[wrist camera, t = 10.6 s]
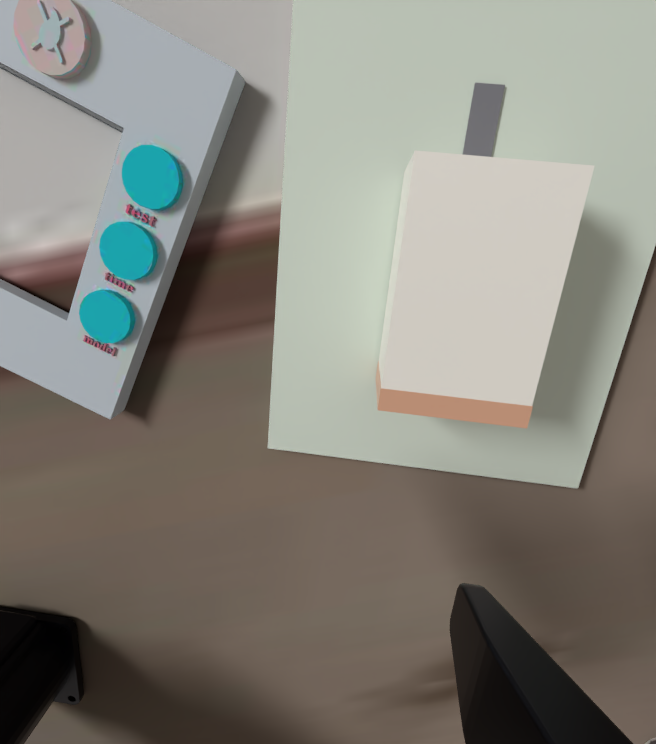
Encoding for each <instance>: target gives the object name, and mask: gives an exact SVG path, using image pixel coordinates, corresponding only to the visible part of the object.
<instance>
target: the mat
mask: <svg viewBox="0 0 656 744" xmlns="http://www.w3.org/2000/svg"><path fill="white" fill-rule="evenodd" d="M415 150H416V151H427V152H439V153H451V154H463V155H475V156H487V157H499V158H510V159H522V160H534V161H546V162H558V163H570V164H582V165H593V166H594V170H593V174H592V178H591V182H590V186H589V189H588V193H587V197H586V201H585V205H584V209H583V213H582V216H581V220H580V224H579V228H578V232H577V236H576V239H575V243H574V247H573V251H572V255H571V259H570V262H569V266H568V270H567V274H566V278H565V282H564V285H563V289H562V293H561V297H560V301H559V305H558V309H557V312H556V316H555V320H554V324H553V328H552V332H551V335H550V339H549V343H548V347H547V351H546V355H545V358H544V362H543V366H542V370H541V374H540V378H539V382H538V385H537V389H536V393H535V397H534V401H533V405H532V406H533V408H532V412H531V416H530V420H529V423H528V427H527V428H518V427H510V426H502V425H494V424H486V423H478V422H469V421H461V420H453V419H445V418H437V417H428V416H420V415H412V414H404V413H396V412H388V411H379V410H378V409H377V394H376V372H377V365H378V361H379V354H380V346H381V339H382V332H383V324H384V317H385V310H386V302H387V295H388V288H389V280H390V273H391V265H392V258H393V251H394V243H395V236H396V229H397V221H398V214H399V207H400V199H401V192H402V185H403V177H404V171H405V169H406V167H407V165H408V163H409V161H410V159H411V157H412V155H413V153H414V151H415ZM655 245H656V0H293V10H292V28H291V45H290V63H289V81H288V98H287V116H286V134H285V151H284V169H283V187H282V204H281V222H280V240H279V258H278V275H277V293H276V311H275V328H274V346H273V364H272V381H271V399H270V417H269V435H268V448H271V449H278V450H286V451H294V452H301V453H309V454H317V455H324V456H332V457H340V458H347V459H355V460H363V461H370V462H378V463H386V464H393V465H401V466H409V467H416V468H424V469H432V470H439V471H447V472H455V473H463V474H470V475H478V476H486V477H493V478H501V479H509V480H516V481H524V482H532V483H539V484H547V485H555V486H562V487H570V488H578V487H579V484H580V480H581V477H582V474H583V471H584V468H585V465H586V462H587V459H588V455H589V452H590V449H591V446H592V443H593V440H594V437H595V433H596V430H597V427H598V424H599V421H600V418H601V415H602V412H603V408H604V405H605V402H606V399H607V396H608V393H609V390H610V386H611V383H612V380H613V377H614V374H615V371H616V368H617V364H618V361H619V358H620V355H621V352H622V349H623V346H624V343H625V339H626V336H627V333H628V330H629V327H630V324H631V321H632V317H633V314H634V311H635V308H636V305H637V302H638V299H639V295H640V292H641V289H642V286H643V283H644V280H645V277H646V274H647V270H648V267H649V264H650V261H651V258H652V255H653V252H654V248H655Z"/></svg>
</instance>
